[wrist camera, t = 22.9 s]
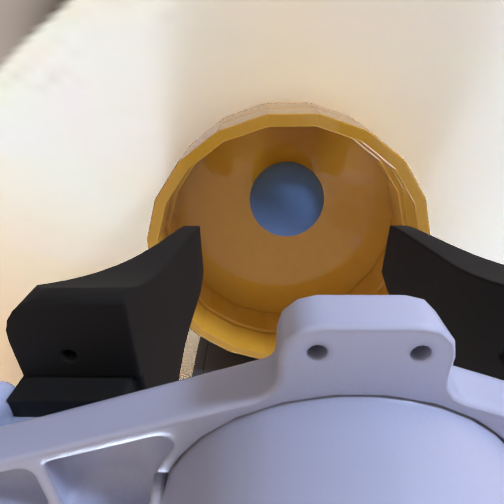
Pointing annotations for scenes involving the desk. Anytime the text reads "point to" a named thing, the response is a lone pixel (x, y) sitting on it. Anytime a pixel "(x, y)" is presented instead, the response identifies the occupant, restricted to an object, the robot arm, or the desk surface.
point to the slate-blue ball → (286, 198)
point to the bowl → (284, 247)
